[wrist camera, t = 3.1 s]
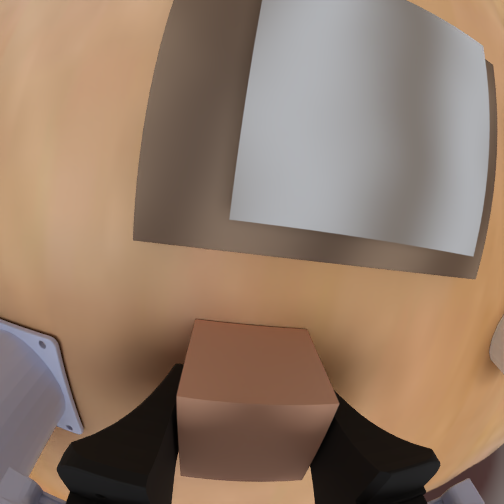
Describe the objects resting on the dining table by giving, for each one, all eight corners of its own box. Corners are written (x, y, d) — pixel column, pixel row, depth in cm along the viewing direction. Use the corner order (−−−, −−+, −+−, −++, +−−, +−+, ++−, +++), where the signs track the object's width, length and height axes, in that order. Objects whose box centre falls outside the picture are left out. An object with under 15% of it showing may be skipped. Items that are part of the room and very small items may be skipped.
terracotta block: (192, 399, 14) (180, 475, 9) (195, 319, 12) (176, 396, 8) (286, 406, 14) (301, 480, 9) (306, 329, 13) (339, 403, 8)
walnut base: (142, 233, 11) (107, 258, 8) (188, -19, 8) (177, -65, 5) (461, 272, 13) (505, 296, 9) (479, 68, 10) (521, 57, 6)
